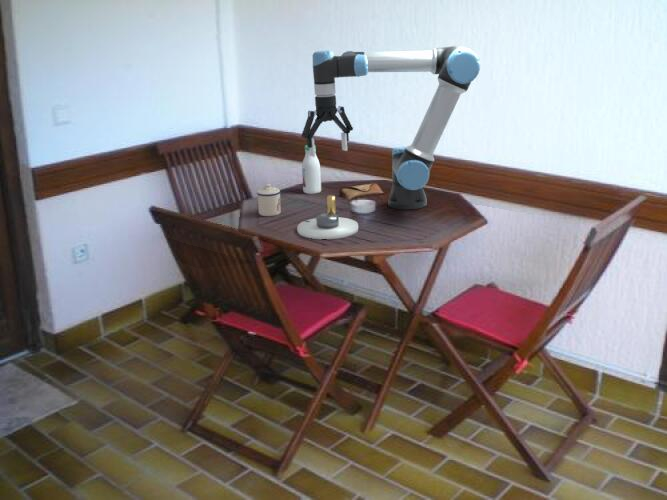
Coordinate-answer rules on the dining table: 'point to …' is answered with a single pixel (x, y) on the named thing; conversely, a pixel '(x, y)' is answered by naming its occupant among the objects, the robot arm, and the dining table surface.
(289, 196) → the dining table surface
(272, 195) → the teacup with lid
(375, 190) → the sunglasses case
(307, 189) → the milk bottle
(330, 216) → the lever
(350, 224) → the dial plate
